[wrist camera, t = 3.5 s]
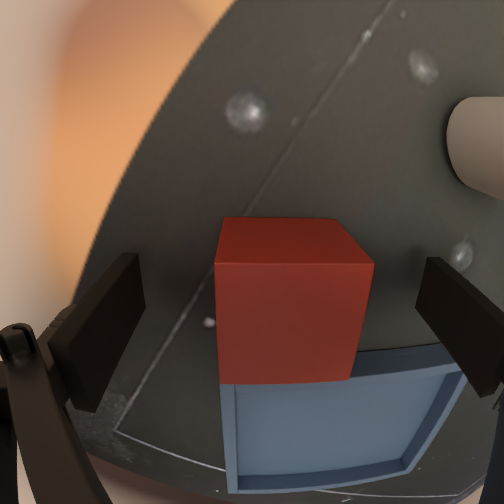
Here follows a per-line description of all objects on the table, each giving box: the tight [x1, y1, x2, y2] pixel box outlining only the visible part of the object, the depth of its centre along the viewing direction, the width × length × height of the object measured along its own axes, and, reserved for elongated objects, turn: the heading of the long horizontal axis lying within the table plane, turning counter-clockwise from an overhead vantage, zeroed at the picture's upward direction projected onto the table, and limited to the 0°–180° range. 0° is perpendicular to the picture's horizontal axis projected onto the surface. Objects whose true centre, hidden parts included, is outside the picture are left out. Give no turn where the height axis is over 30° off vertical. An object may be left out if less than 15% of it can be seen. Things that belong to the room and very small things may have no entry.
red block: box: [214, 217, 375, 385], centre depth 13 cm, size 5×5×5 cm
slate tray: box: [219, 343, 468, 494], centre depth 19 cm, size 16×14×2 cm
